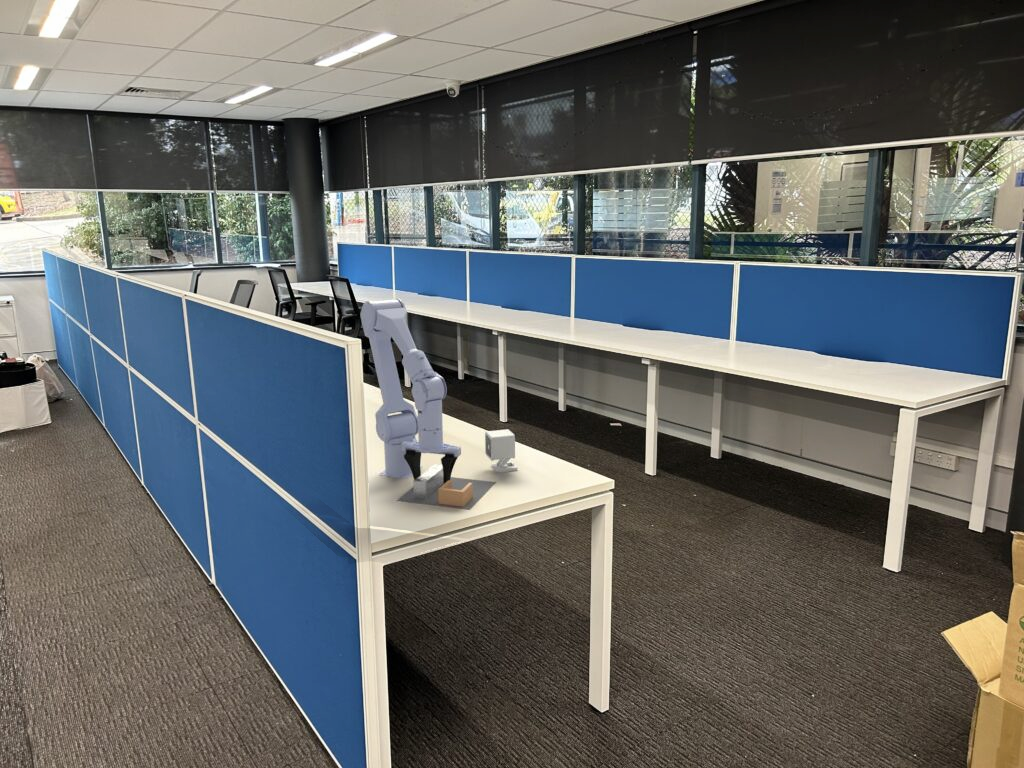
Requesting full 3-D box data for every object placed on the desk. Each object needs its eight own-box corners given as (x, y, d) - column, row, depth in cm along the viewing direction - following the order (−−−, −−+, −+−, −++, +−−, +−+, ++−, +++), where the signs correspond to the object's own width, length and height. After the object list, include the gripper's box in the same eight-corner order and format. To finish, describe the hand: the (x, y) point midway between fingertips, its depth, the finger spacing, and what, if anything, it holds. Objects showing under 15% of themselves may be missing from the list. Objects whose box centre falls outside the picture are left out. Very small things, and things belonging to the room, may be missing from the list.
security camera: (485, 467, 192) (484, 430, 190) (510, 464, 195) (510, 428, 192) (491, 475, 187) (491, 437, 184) (518, 472, 189) (518, 435, 186)
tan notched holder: (448, 494, 173) (448, 480, 172) (472, 497, 171) (472, 483, 170) (438, 503, 167) (438, 489, 167) (463, 506, 166) (463, 491, 165)
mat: (428, 476, 186) (428, 474, 186) (496, 484, 181) (496, 482, 181) (396, 502, 169) (396, 500, 169) (469, 511, 164) (469, 509, 164)
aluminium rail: (434, 479, 182) (434, 464, 181) (446, 481, 181) (445, 465, 180) (413, 497, 171) (413, 480, 170) (425, 498, 170) (425, 482, 169)
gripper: (394, 429, 172) (397, 484, 175) (452, 434, 168) (453, 491, 171) (407, 421, 179) (409, 474, 182) (463, 426, 174) (464, 480, 178)
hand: (432, 482), depth 177 cm, fingers open, 7 cm apart
